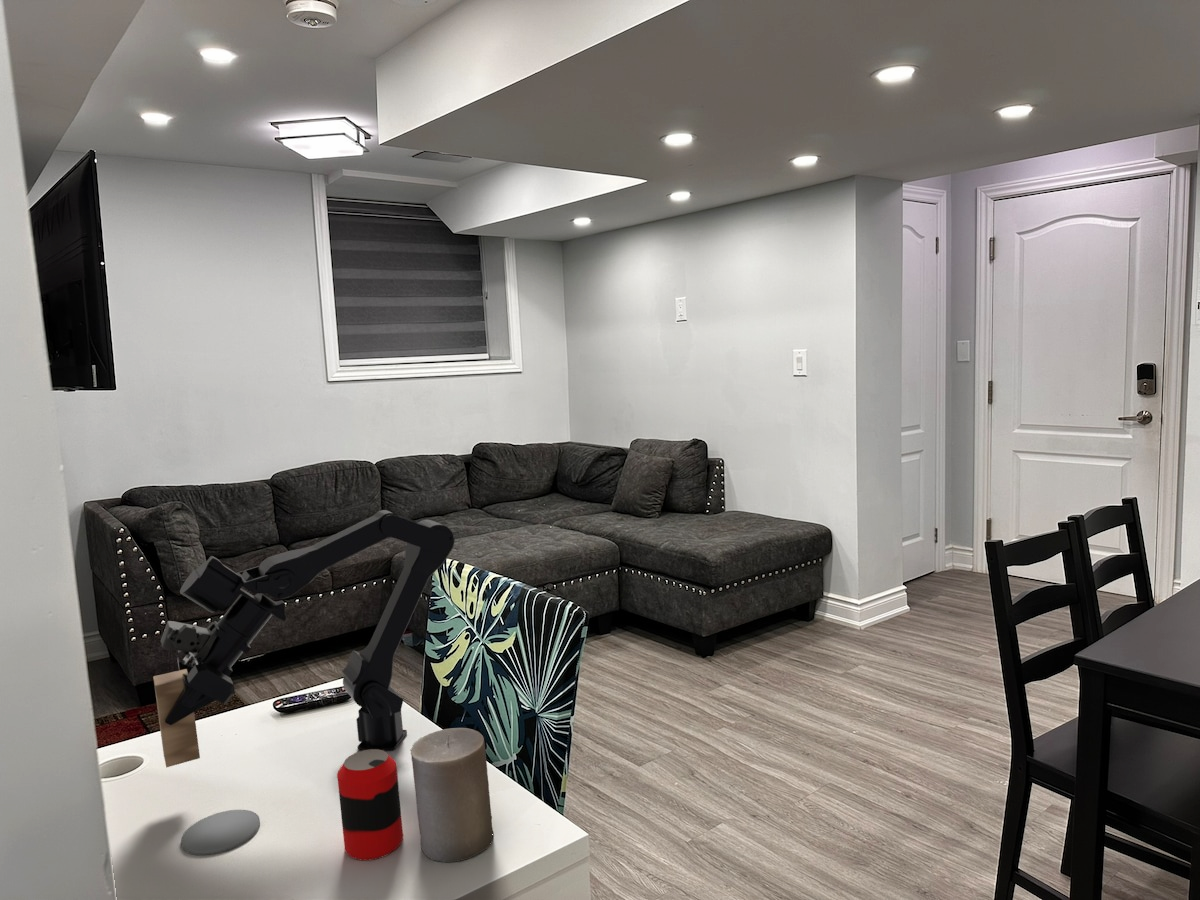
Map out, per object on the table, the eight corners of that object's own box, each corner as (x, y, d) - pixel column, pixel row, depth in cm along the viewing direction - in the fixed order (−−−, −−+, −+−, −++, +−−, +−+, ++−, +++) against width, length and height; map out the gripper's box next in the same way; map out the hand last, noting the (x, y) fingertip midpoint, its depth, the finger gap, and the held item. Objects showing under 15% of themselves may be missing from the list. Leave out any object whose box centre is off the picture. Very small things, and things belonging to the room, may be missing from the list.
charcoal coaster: (273, 813, 121) (272, 809, 121) (235, 855, 111) (235, 851, 111) (208, 813, 123) (208, 809, 122) (165, 854, 113) (165, 850, 113)
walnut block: (196, 746, 129) (186, 668, 127) (200, 758, 125) (189, 677, 123) (163, 755, 127) (153, 676, 125) (166, 767, 123) (155, 685, 121)
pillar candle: (503, 823, 115) (494, 719, 114) (477, 866, 106) (467, 753, 104) (438, 819, 118) (428, 716, 116) (407, 860, 108) (395, 750, 107)
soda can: (372, 867, 107) (364, 779, 106) (332, 851, 111) (323, 766, 110) (415, 837, 113) (407, 752, 112) (375, 822, 117) (367, 741, 116)
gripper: (185, 587, 133) (114, 671, 129) (199, 615, 117) (119, 713, 113) (244, 624, 138) (178, 706, 134) (265, 656, 122) (190, 751, 118)
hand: (166, 717), depth 124 cm, fingers closed on walnut block, 4 cm apart
